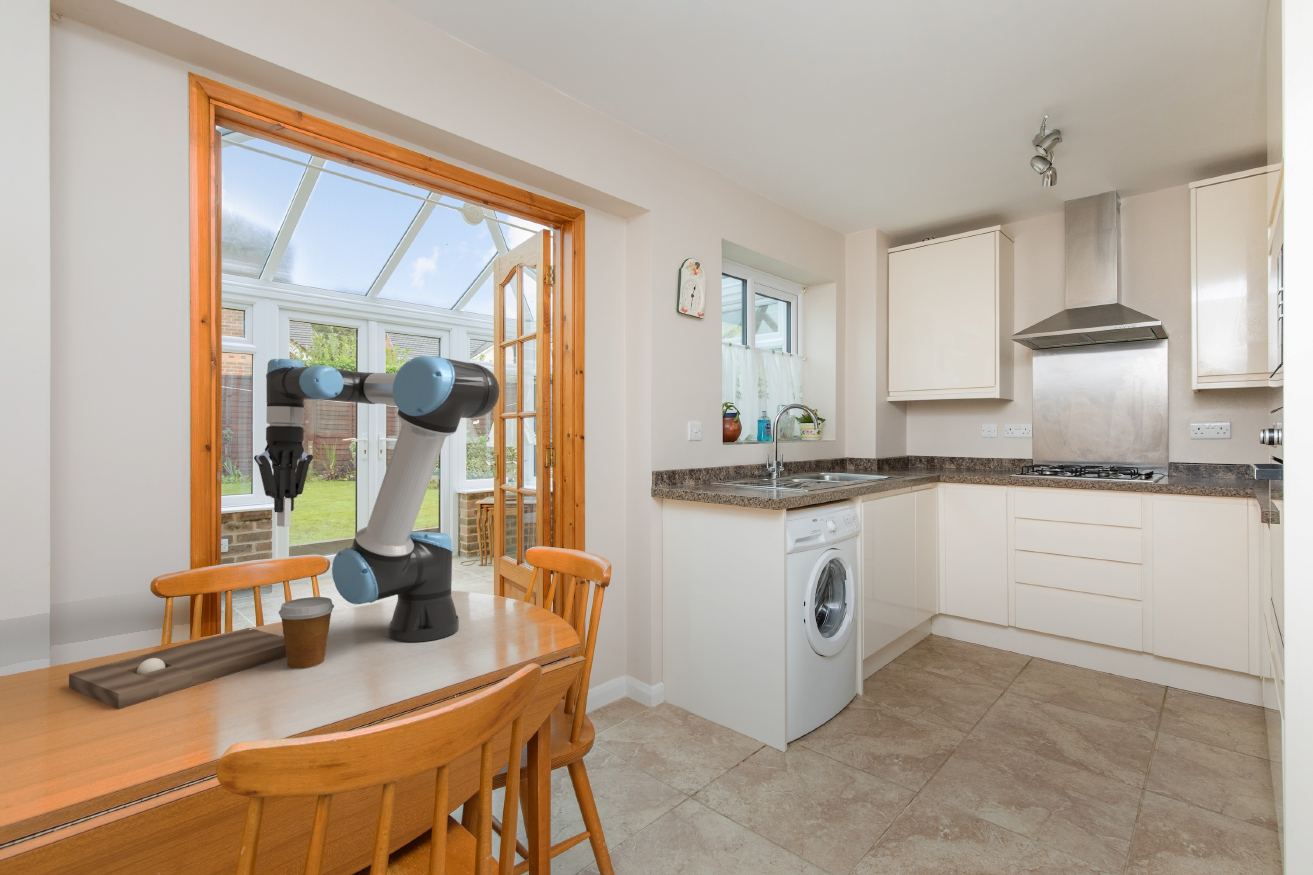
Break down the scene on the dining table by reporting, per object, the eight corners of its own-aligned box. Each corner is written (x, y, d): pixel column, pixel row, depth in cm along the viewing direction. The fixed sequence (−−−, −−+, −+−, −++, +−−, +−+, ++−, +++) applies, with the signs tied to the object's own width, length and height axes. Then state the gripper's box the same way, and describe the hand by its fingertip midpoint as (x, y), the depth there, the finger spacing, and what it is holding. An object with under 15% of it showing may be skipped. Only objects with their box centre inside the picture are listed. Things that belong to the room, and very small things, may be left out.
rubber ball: (168, 680, 110) (167, 662, 109) (140, 689, 107) (139, 671, 106) (162, 667, 113) (161, 650, 112) (134, 676, 110) (133, 658, 108)
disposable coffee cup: (308, 673, 113) (309, 610, 113) (265, 669, 115) (266, 607, 115) (344, 656, 123) (344, 597, 123) (304, 652, 124) (304, 595, 125)
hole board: (298, 652, 125) (299, 640, 125) (118, 708, 98) (118, 693, 98) (248, 639, 133) (248, 627, 133) (68, 687, 106) (69, 673, 106)
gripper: (301, 426, 148) (299, 521, 148) (246, 424, 136) (244, 528, 136) (321, 426, 145) (320, 523, 145) (267, 424, 133) (265, 530, 133)
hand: (283, 525), depth 141 cm, fingers closed
